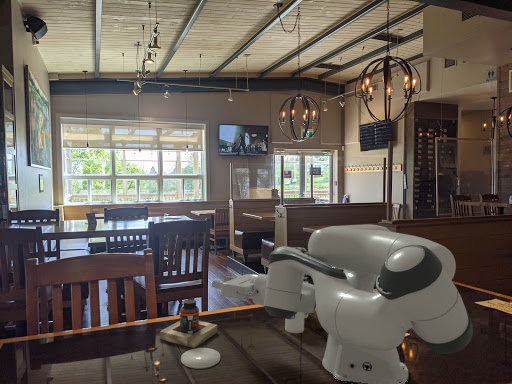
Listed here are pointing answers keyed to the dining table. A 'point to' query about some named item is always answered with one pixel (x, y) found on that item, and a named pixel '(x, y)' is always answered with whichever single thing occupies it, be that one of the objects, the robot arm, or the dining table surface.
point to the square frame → (185, 339)
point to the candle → (295, 323)
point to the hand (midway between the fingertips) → (219, 281)
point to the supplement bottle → (189, 317)
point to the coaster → (200, 358)
